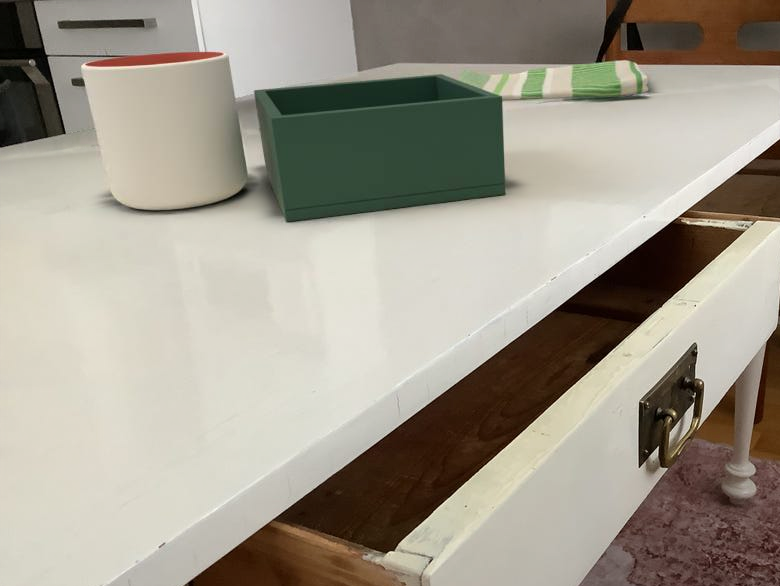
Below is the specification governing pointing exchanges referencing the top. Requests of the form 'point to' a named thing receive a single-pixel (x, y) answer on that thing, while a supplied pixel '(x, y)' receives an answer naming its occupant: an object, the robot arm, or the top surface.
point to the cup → (167, 128)
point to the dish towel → (564, 81)
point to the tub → (380, 144)
